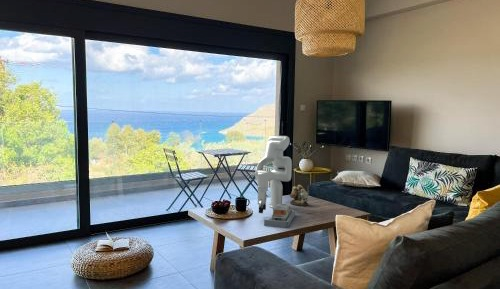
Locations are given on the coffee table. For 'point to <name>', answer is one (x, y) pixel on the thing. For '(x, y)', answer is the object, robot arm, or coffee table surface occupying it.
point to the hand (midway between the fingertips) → (262, 211)
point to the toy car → (281, 212)
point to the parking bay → (280, 223)
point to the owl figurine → (299, 196)
